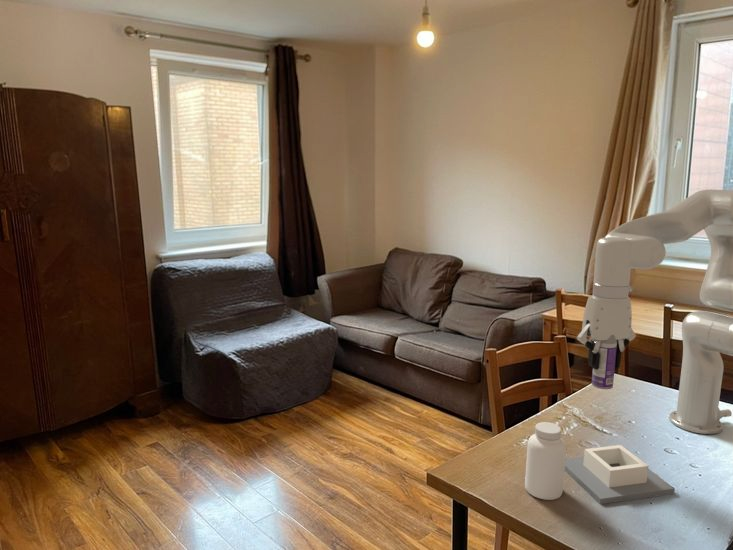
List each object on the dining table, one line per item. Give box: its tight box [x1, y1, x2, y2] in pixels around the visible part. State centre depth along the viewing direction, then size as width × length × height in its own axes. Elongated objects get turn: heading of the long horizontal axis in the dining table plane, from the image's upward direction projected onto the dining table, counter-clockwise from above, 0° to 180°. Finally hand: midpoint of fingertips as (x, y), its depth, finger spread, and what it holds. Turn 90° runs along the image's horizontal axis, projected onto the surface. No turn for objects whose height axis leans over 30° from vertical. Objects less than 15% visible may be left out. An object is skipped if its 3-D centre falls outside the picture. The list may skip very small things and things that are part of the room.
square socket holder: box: [564, 444, 676, 505], centre depth 124 cm, size 18×16×5 cm
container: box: [591, 335, 617, 390], centre depth 128 cm, size 5×5×15 cm
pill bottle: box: [524, 421, 567, 501], centre depth 118 cm, size 8×8×15 cm
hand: (603, 365), depth 129 cm, fingers closed on container, 4 cm apart
